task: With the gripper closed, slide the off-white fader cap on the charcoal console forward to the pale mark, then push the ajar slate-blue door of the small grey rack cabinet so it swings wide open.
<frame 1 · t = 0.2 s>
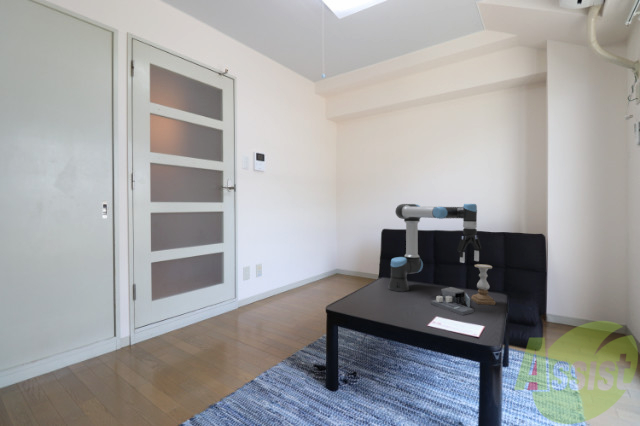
hand: (469, 261, 181), 27 cm above the table, fingers open, 13 cm apart
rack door: (468, 300, 180), point 4 cm above the table, hinge at 45.0°
candle holder: (482, 302, 188), on the table
rack cabinet: (452, 302, 187), on the table
fader a: (439, 298, 181), point 4 cm above the table, slide at 0.0 cm
fader b: (448, 299, 181), point 4 cm above the table, slide at 3.0 cm
console: (451, 308, 176), on the table
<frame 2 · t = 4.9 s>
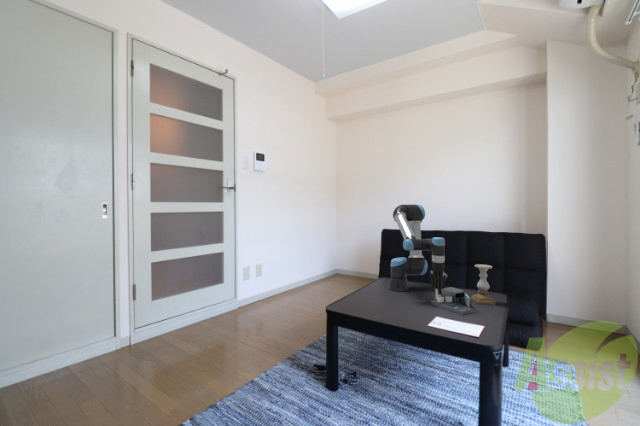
hand: (437, 299, 182), 4 cm above the table, fingers closed
fader a: (440, 299, 180), point 4 cm above the table, slide at 0.9 cm, touching gripper
everything else where it was.
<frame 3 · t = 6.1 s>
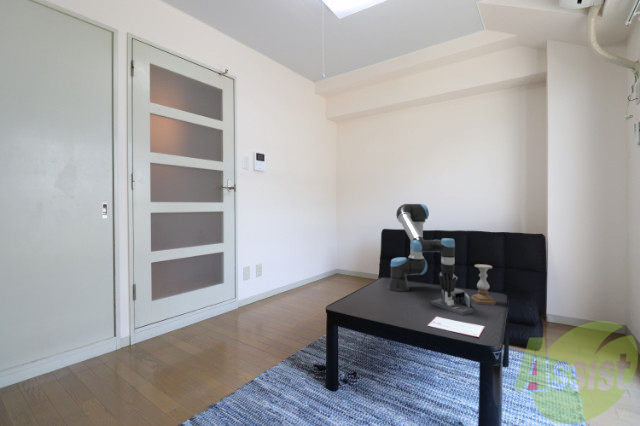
hand: (447, 302, 176), 4 cm above the table, fingers closed
fader a: (450, 302, 174), point 4 cm above the table, slide at 7.8 cm, touching gripper
everything else where it was.
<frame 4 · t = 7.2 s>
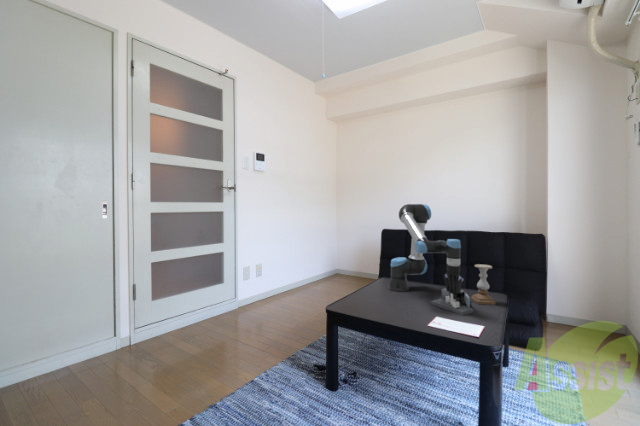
hand: (452, 304, 172), 3 cm above the table, fingers closed
fader a: (455, 304, 171), point 4 cm above the table, slide at 11.6 cm, touching gripper
everything else where it was.
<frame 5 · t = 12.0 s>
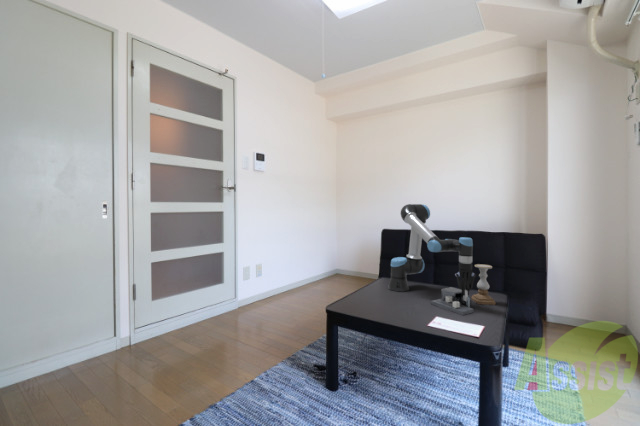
hand: (465, 300, 178), 4 cm above the table, fingers closed
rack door: (468, 300, 180), point 4 cm above the table, hinge at 45.0°, touching gripper
fader a: (456, 304, 171), point 4 cm above the table, slide at 11.7 cm
everything else where it was.
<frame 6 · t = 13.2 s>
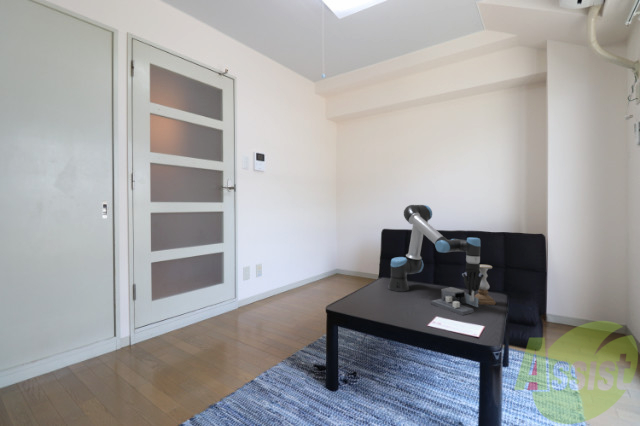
hand: (471, 300, 178), 4 cm above the table, fingers closed
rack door: (472, 299, 180), point 4 cm above the table, hinge at 77.9°, touching gripper
everything else where it was.
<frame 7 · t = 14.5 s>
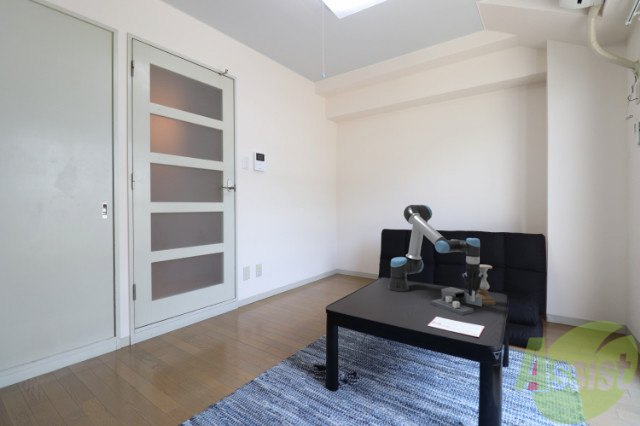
hand: (472, 300, 178), 4 cm above the table, fingers closed
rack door: (473, 299, 181), point 4 cm above the table, hinge at 101.5°
everything else where it was.
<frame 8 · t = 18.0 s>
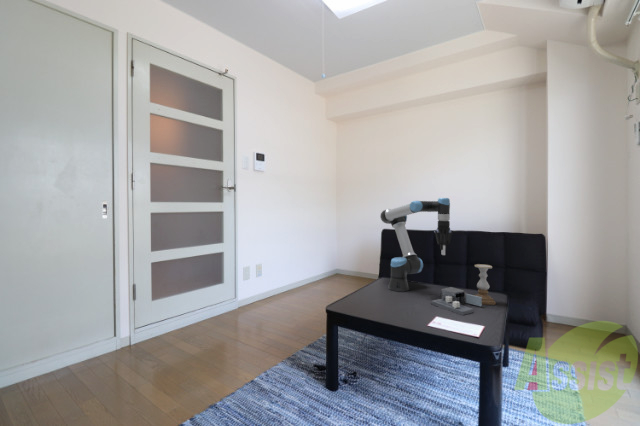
hand: (443, 254, 197), 29 cm above the table, fingers closed
nothing on the table moved.
at the end: fader a slide at 11.7 cm; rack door at +102° (first picture: +45°) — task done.
